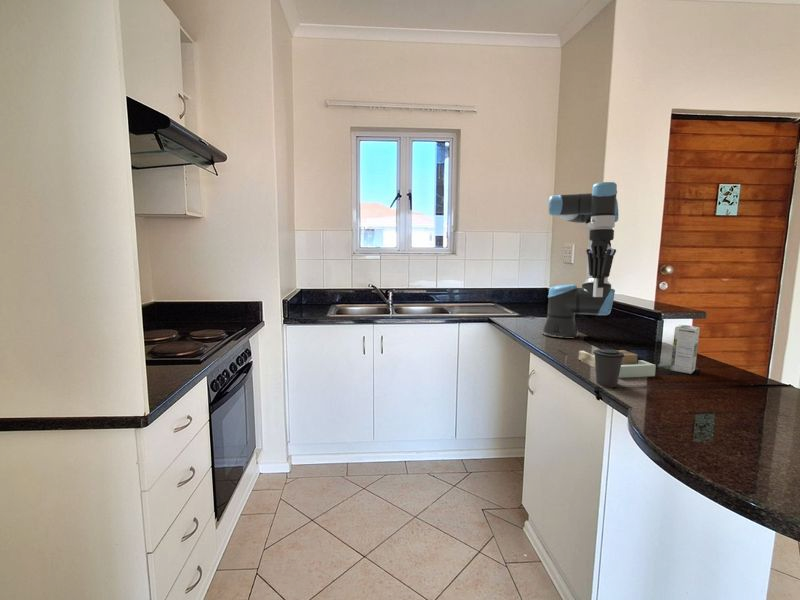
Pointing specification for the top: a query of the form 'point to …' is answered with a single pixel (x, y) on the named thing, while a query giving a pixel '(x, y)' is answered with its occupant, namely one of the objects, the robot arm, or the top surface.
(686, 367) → the syrup box
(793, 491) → the top surface
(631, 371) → the backstop bay
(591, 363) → the tunnel
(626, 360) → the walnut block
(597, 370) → the coffee cup
